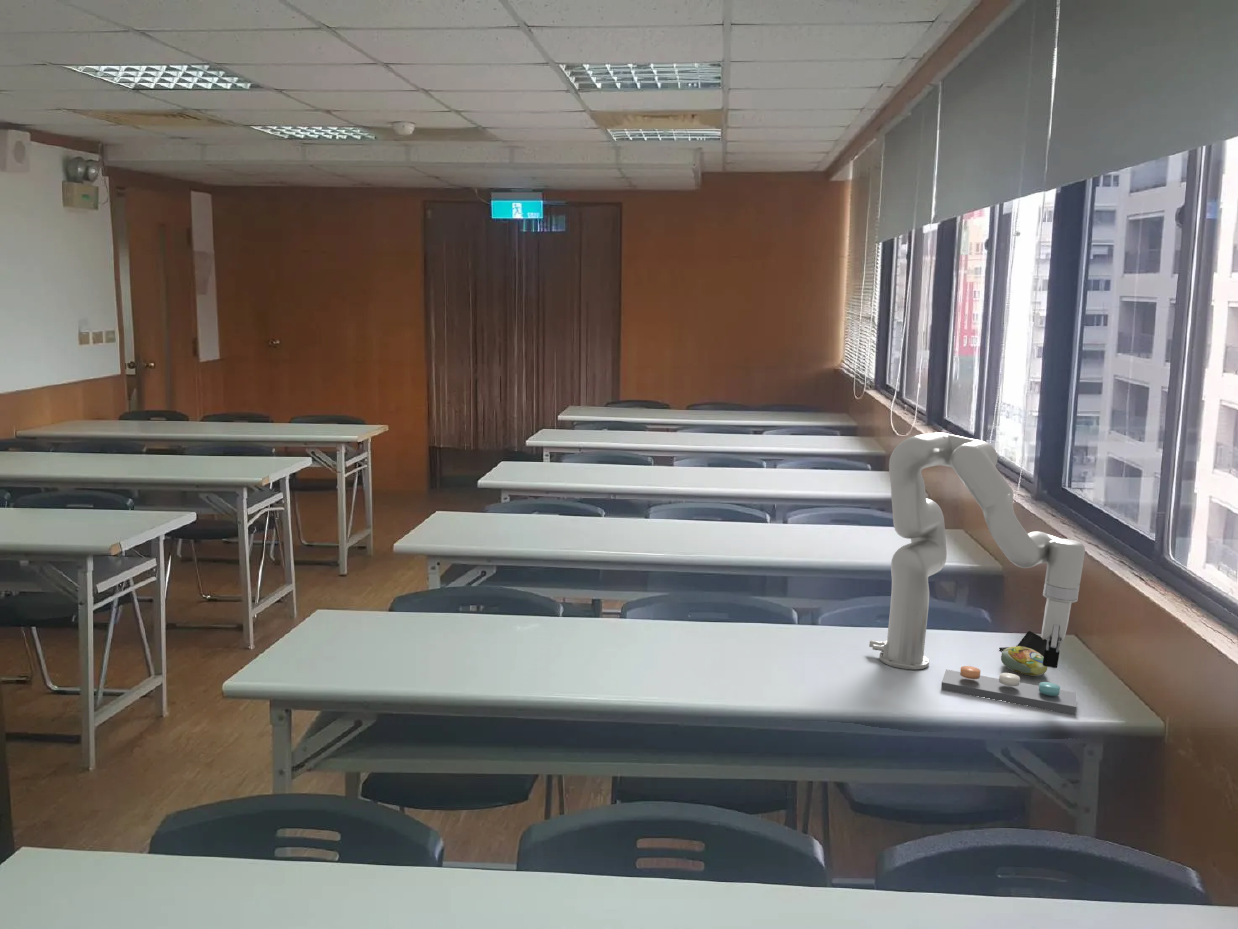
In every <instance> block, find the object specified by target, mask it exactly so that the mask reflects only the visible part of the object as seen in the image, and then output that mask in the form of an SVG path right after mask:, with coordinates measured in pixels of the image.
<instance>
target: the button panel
mask: <svg viewBox="0 0 1238 929" xmlns="http://www.w3.org/2000/svg"><path fill="white" fill-rule="evenodd" d="M940 689H941V690H940V691H944V692H950V693H955V694H961V695H966V696H970V695H971V697H976V696H979V697H978V698H981V697H985V698H984V699H986V698H990V699H989V700H992V699H995V700H994V701H997V700H1002V701H1006V702H1005V703H1008V702H1010V703H1009V704H1013V703H1016V704H1015V705H1018V704H1020V705H1021V706H1024V705H1028V706H1027V707H1029V706H1031V707H1030V708H1035V707H1036V709H1041V710H1045V709H1046V711H1051V710H1052V711H1051V712H1058V713H1062V714H1066V715H1073V716H1076V715H1077V714H1076V712H1077V694H1076V691H1068V690H1063V689H1060V693H1059V695H1057V696H1050V695H1045V694H1042V693H1041V692H1039V685H1036V684H1030V683H1024V682H1019V685H1018V686H1007V685H1004V684H1001V683H1000V682H999V678H996V677H990V676H984V675H980V678H979V679H968V678H965V677H962V676H961V675H960V671H957V670H951V669H947V668H946V669H945V672H944V675H943V677H942V681H941V688H940ZM1002 701H1001V702H1002Z"/></svg>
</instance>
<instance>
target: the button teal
mask: <svg viewBox="0 0 1238 929" xmlns="http://www.w3.org/2000/svg"><path fill="white" fill-rule="evenodd" d="M1038 686H1039V692H1041V693H1042V694H1045V695H1050V696H1057V695H1059V693H1060V690H1061V686H1060V685H1058V684H1056V683H1053V682H1048V681H1042V682H1039V684H1038Z"/></svg>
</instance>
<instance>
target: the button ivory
mask: <svg viewBox="0 0 1238 929" xmlns="http://www.w3.org/2000/svg"><path fill="white" fill-rule="evenodd" d="M998 679H999V682H1000V683H1001V684H1004V685H1007V686H1018V685H1019V682H1020V680H1021V678H1020V676H1019V675H1018V674H1014V673H1011V672H1010V673H1009V672H1002V673H999V677H998ZM1020 683H1021V682H1020Z"/></svg>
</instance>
